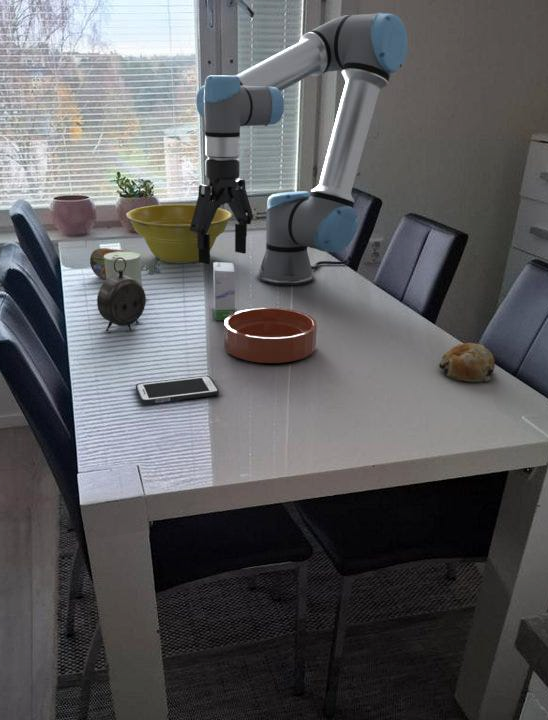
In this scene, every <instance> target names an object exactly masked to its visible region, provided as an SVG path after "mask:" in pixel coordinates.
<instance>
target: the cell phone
mask: <svg viewBox="0 0 548 720" xmlns="http://www.w3.org/2000/svg"><path fill="white" fill-rule="evenodd" d="M135 391H136V393H137V394H136V395H137V396H138V398H139V401H140V403H141V404H143V405H149V404H156V403H157V404H158V403H164V402H174V401H180V400H181V401H183V400H190V399H199V398H206V397H213V396H218V395H219V393H220V390H219V388H218V387H217V385H216V383H215V381H214V379H213V378H212V377H211V376H209V375H199V376H190V377H181V378H174V379H173V378H172V379H164V380H155V381H147V382H140V383H136V384H135Z"/></svg>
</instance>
